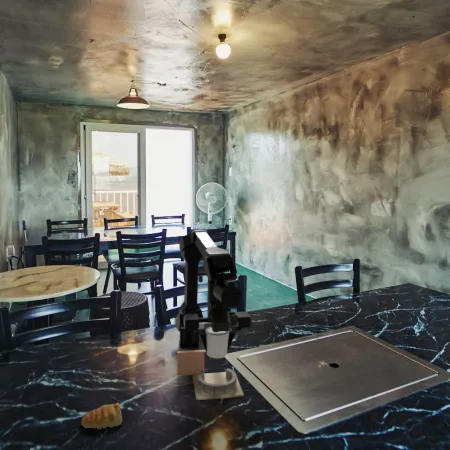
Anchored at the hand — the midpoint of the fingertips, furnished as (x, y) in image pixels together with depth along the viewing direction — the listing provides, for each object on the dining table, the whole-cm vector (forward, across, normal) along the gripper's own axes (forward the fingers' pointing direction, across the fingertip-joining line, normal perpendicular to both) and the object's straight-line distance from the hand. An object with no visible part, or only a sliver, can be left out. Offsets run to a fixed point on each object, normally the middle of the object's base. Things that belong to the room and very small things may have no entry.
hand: (217, 349), depth 108 cm
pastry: (+11, -29, -12) cm, 34 cm away
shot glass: (+1, 0, 0) cm, 1 cm away
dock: (+11, 0, 0) cm, 11 cm away
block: (+11, -7, +6) cm, 14 cm away
